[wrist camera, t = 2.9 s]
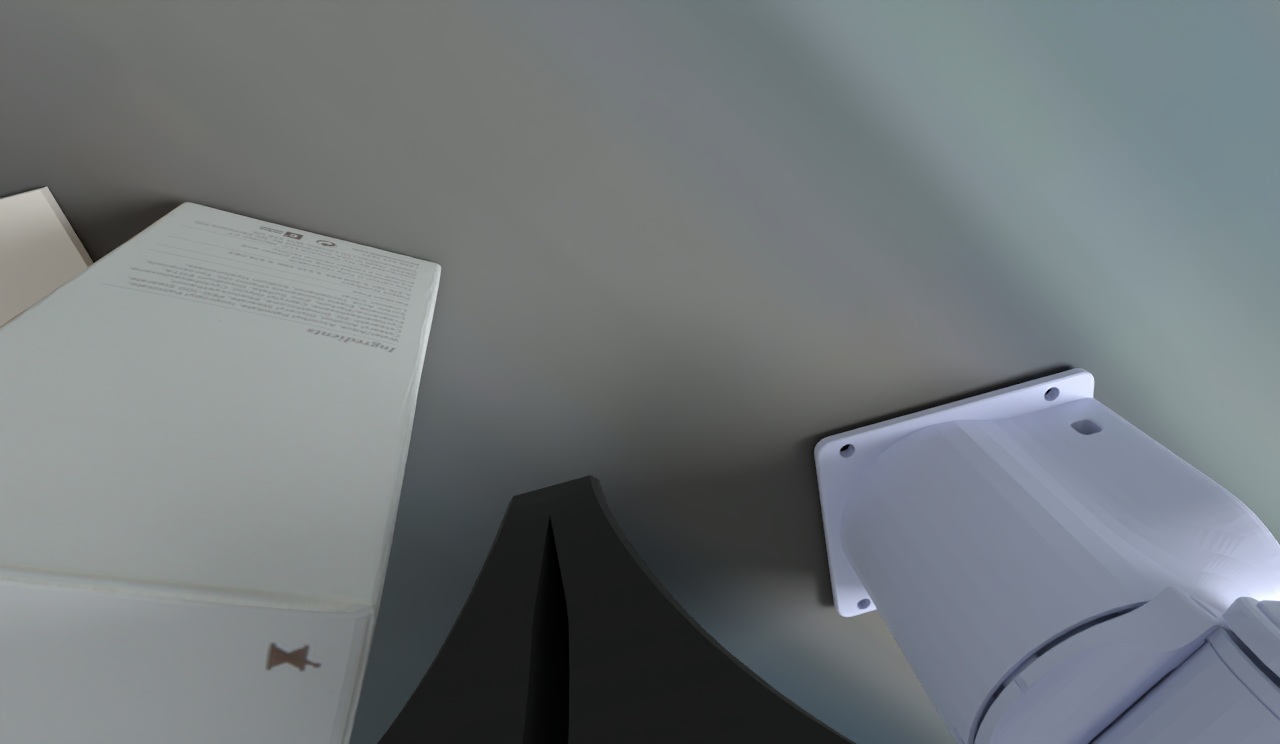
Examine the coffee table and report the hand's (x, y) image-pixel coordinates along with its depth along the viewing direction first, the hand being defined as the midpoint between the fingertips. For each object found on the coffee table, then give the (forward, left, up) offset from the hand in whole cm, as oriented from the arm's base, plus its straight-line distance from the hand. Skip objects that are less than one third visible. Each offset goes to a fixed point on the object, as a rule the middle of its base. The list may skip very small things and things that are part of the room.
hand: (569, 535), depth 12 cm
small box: (+7, 0, -10) cm, 13 cm away
